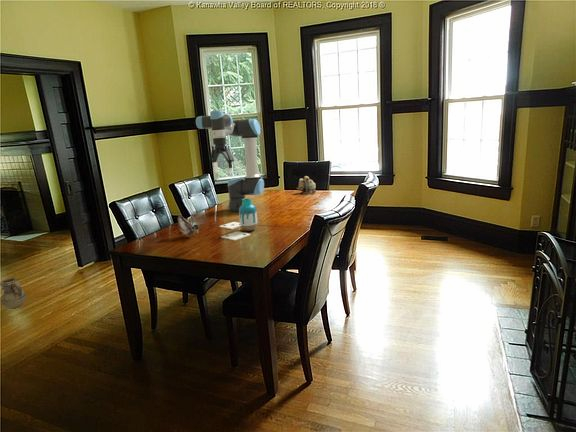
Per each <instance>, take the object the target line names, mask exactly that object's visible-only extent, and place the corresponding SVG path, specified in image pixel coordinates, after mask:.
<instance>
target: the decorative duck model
mask: <svg viewBox="0 0 576 432" xmlns="http://www.w3.org/2000/svg"><path fill="white" fill-rule="evenodd" d="M177 224H178V225H177V226H178V229H179V230H178V235H179V236H182V235H187V236H192V235H194V233H195V231H196V233H197V234H199V225H198V224H192V223H191V222H190V221H188V220H187V219H186V218H184V216H182V215H180V214H178V216H177Z"/></svg>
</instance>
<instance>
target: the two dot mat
mask: <svg viewBox="0 0 576 432" xmlns="http://www.w3.org/2000/svg"><path fill="white" fill-rule="evenodd" d="M249 236H251V233H248V232H242V231H234V232H231V233H228V234H225V235H222V236H220V237H221V239H226V240H230V241H235V242H236V241H238V240H241V239H243V238H246V237H249Z"/></svg>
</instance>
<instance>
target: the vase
mask: <svg viewBox="0 0 576 432" xmlns="http://www.w3.org/2000/svg"><path fill="white" fill-rule="evenodd" d="M256 207H257V206H256V205H254V204H253V203H252V198H249V197H248V198H246V197H245V199H242V206H240V208H239V211H238V217H239V223H240V224H241V229H242V230H243V231H246V232H251V231H254V230H256V229H257V227H258V211H257V210H258V209H257V208H256Z"/></svg>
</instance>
